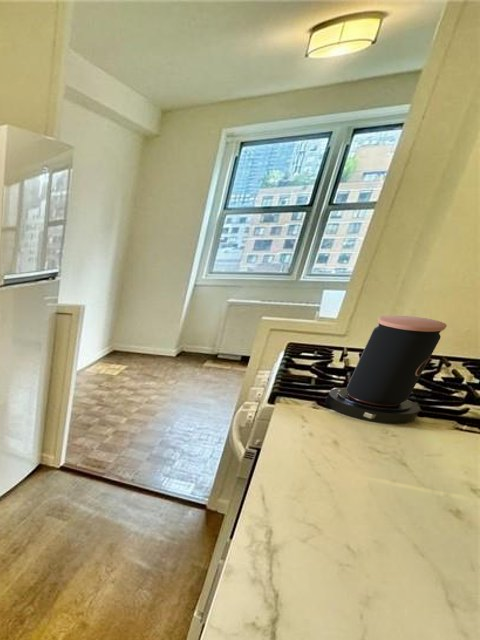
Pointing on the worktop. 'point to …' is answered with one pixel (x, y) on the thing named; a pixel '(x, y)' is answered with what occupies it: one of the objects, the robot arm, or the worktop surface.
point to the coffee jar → (394, 359)
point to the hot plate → (371, 408)
